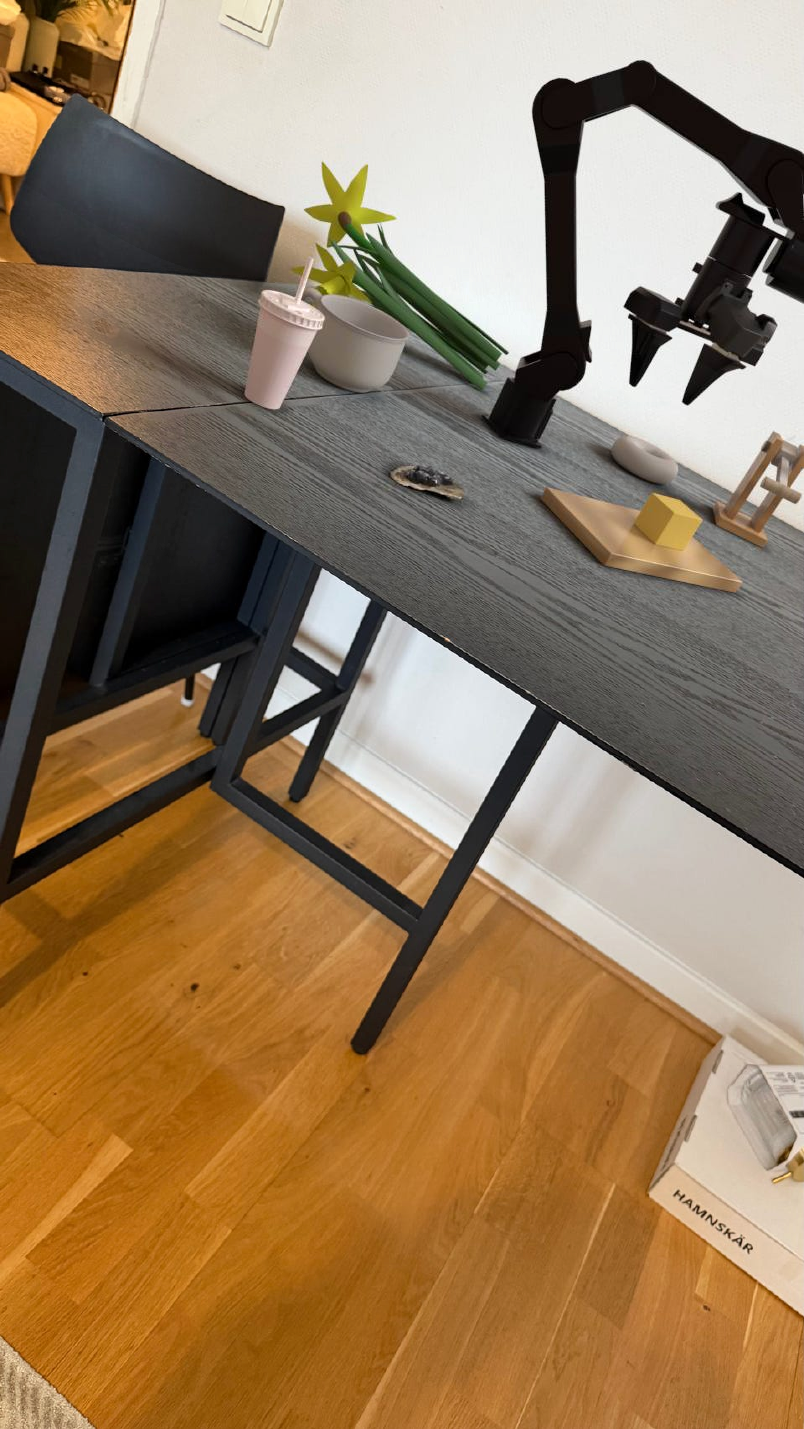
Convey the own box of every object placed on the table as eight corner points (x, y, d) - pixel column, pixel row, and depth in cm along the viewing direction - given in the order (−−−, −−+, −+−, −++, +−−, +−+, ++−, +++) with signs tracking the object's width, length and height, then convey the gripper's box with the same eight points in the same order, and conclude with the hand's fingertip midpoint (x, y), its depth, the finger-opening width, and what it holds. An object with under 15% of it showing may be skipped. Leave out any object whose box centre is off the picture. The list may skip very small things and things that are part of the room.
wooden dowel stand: (762, 548, 128) (821, 462, 121) (716, 525, 127) (771, 437, 121) (756, 530, 134) (811, 447, 128) (712, 508, 134) (764, 424, 128)
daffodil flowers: (476, 410, 129) (263, 231, 119) (443, 430, 143) (251, 271, 133) (545, 311, 130) (339, 125, 120) (506, 340, 144) (319, 176, 134)
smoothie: (302, 410, 97) (351, 272, 90) (276, 420, 92) (326, 274, 85) (248, 381, 98) (292, 242, 91) (219, 390, 92) (264, 242, 85)
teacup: (400, 401, 114) (426, 336, 110) (351, 404, 106) (378, 334, 101) (312, 347, 118) (335, 283, 114) (258, 346, 109) (280, 276, 105)
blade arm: (792, 509, 120) (804, 494, 118) (757, 491, 120) (768, 476, 118) (795, 465, 127) (806, 451, 125) (762, 449, 127) (773, 434, 125)
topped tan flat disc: (473, 508, 94) (481, 491, 93) (408, 497, 90) (416, 479, 89) (440, 475, 98) (448, 458, 97) (377, 462, 94) (384, 445, 93)
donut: (606, 465, 130) (672, 495, 131) (618, 442, 129) (685, 473, 129) (606, 447, 139) (668, 476, 139) (618, 425, 137) (680, 454, 137)
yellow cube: (654, 544, 104) (674, 512, 102) (633, 523, 107) (651, 492, 105) (683, 551, 106) (703, 520, 104) (661, 530, 109) (680, 500, 107)
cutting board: (603, 565, 96) (611, 553, 95) (539, 498, 106) (546, 486, 105) (735, 593, 107) (743, 582, 106) (666, 529, 116) (673, 519, 115)
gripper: (715, 264, 99) (639, 404, 107) (826, 316, 109) (748, 440, 117) (657, 232, 107) (590, 365, 115) (765, 283, 116) (696, 403, 124)
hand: (658, 395), depth 117 cm, fingers open, 9 cm apart
